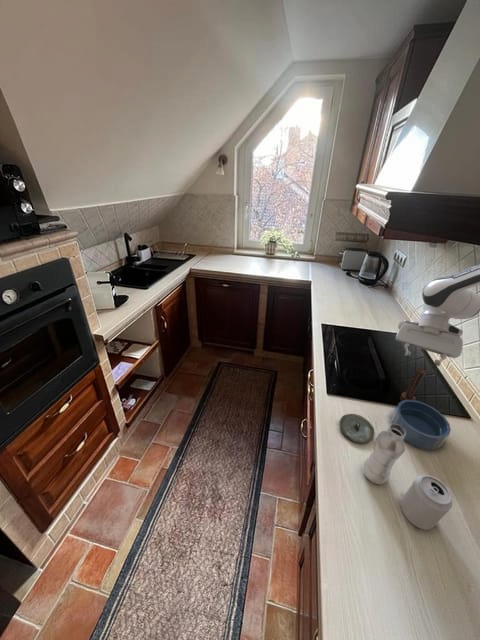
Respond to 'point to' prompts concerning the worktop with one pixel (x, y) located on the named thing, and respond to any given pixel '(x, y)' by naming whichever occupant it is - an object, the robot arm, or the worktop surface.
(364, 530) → the worktop surface
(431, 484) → the can
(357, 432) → the lid
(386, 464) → the plastic bottle
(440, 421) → the bowl
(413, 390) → the stirring stick
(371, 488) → the worktop surface
